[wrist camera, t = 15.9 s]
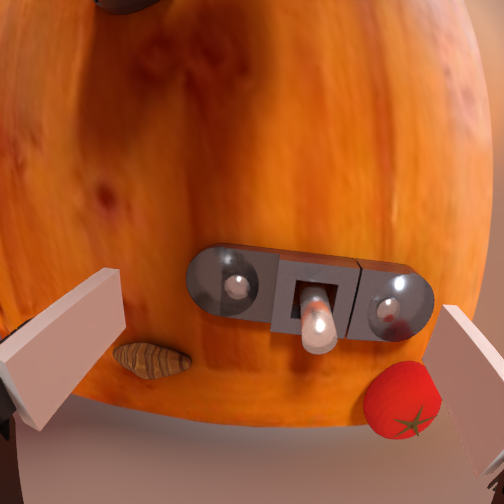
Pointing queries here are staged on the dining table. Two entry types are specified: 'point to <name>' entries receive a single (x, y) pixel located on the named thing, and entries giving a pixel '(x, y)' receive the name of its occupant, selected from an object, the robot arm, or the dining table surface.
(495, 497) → the robot arm
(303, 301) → the steel pin
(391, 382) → the tomato
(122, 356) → the croissant
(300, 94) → the dining table surface
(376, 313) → the chain end
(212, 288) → the chain end
